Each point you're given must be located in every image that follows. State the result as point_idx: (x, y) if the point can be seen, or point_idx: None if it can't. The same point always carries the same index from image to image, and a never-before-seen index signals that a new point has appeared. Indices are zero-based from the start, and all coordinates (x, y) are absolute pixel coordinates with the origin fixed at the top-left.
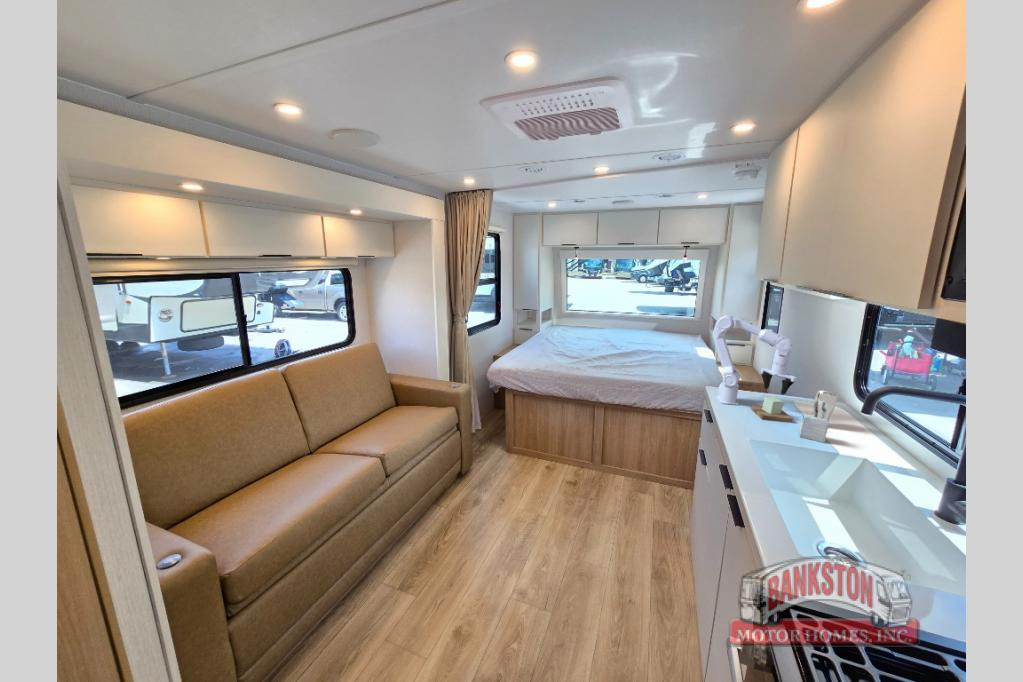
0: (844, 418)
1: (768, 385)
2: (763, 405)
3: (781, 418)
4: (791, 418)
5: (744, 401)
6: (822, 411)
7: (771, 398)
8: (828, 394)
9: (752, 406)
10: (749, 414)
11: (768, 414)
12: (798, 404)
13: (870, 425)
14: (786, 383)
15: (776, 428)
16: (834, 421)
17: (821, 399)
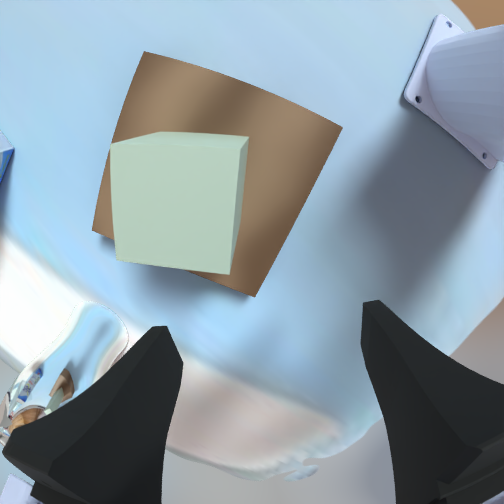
0: (171, 433)
1: (371, 365)
2: (239, 139)
3: (108, 166)
4: (93, 221)
5: (439, 205)
6: (37, 356)
7: (199, 210)
8: None
9: (323, 117)
10: (247, 31)
11: (154, 107)
12: (306, 418)
13: None
14: (23, 429)
15: (55, 66)
16: None
17: (9, 402)
